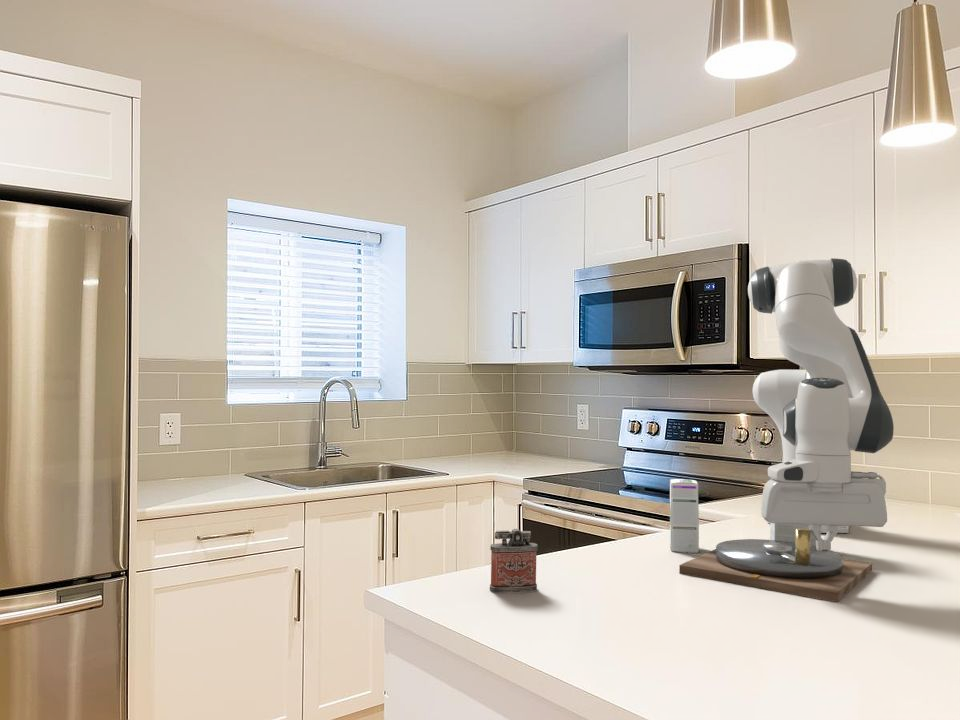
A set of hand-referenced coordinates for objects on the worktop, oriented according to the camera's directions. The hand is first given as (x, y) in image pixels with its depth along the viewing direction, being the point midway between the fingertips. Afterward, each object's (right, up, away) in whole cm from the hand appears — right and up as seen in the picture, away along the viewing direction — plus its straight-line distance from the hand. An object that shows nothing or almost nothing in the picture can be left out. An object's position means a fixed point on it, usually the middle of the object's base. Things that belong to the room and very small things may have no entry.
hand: (823, 550), depth 130 cm
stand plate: (-4, -7, +10) cm, 13 cm away
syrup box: (-17, -7, +28) cm, 33 cm away
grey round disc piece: (-4, -5, +10) cm, 12 cm away
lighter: (-54, -6, -5) cm, 55 cm away
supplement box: (+7, -8, +29) cm, 31 cm away
